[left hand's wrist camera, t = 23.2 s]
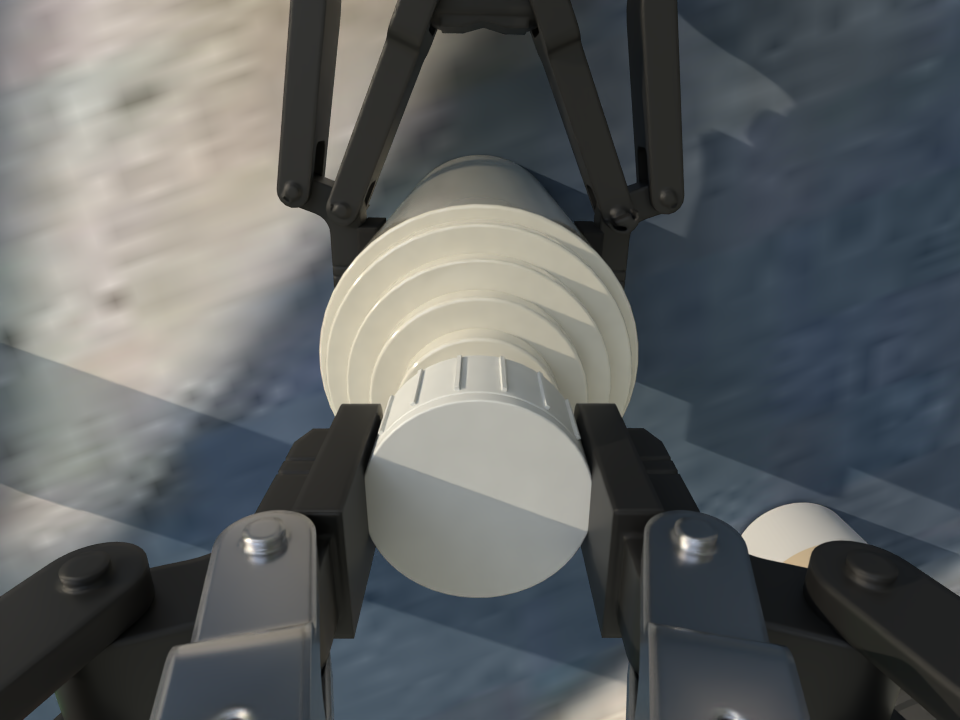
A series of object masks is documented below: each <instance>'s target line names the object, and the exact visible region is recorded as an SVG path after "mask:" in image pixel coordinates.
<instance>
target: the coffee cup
mask: <svg viewBox="0 0 960 720" xmlns="http://www.w3.org/2000/svg"><path fill="white" fill-rule="evenodd" d="M742 537H743V539H744V540H745V542H746V545H747V548H748V553H749V554H750V555H753V556H756V557H760V558H763V559H768V560H772V561H777V562H782V563H787V564H791V565H796V566H801V567H806V568H808V564H809V560H810V556H811V553H812V551H813V550H814V548H815V547H817V546H818V545H820V544H822V543H825V542H829V541H837V540H845V541H855V542H861V543H865V544H868V543H867V542H866V541H864V540H863V539H862V538H861V537H860V536H859V535H858V534H857V533H856V532H855V531H854V530H853V529H852V528H851V527H850V526H849V525H848V524H847V523H846V522H844V521H843V520H842V519H841V518H840V517H839V516H838V515H837V514H836V513H835V512H833V511H832V510H830V509H828V508H827V507H824V506H821V505H818V504H813V503H793V504H787V505H783V506H780V507H777V508H775V509H772V510H770V511H768V512H766V513H765V514H763V515H761V516H760V517H759V518H757V519H756V520H755V521H753V522H752V523H751V524H750V525H749V526H748V527H747V529H746V530H745V531H744V533H743V534H742ZM894 709H895V710H896V711H897V712H899V713H900V714H901V715H902V716H903V717H904V718H905V719H906V720H937V719H936V718H935V717H933V716H932V715H931V714H930V713H929V712H928V711H926V710H925V709H924V708H923V707H922V706H921V705H920V704H918V703H917V702H916V701H915V700H914V699H913V698H911V697H910V696H909V695H908V694H907V693H906V692H905V691H903V690H902V689H900V692H899V695H898V698H897V701H896V704H895V706H894Z"/></svg>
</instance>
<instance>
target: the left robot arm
mask: <svg viewBox="0 0 960 720" xmlns="http://www.w3.org/2000/svg"><path fill="white" fill-rule="evenodd" d="M574 417H575V421H576V424H577V427H578V430H579V434H580V437H581V442H582V446H583V449H584V452H585V456H586V459H587V462H588V466H589V469H590V472H591V476H592V484H591V497H590V510H589V523H588V533H587V535H586V537H585V539H584V541H583V542H582V544H581V549H582V553H583V557H584V562H585V566H586V571H587V575H588V579H589V584H590V588H591V592H592V597H593V601H594V605H595V610H596V614H597V619H598V623H599V627H600V632H601V636H602V638H622V639H623V643H624V647H625V650H626V654H627V657H628V660H629V665H628V674H627V702H626V720H906V719H905V718H904V717H903V716H902V715H901V714H900V713H899V712H897V711H896V710H895V709H894V706H895V704H896V701H897V698H898V695H899V692H900V689H902V690H903V691H905V692H906V693H907V694H908V695H909V696H910V697H911V698H913V699H914V700H915V701H916V702H917V703H918V704H920V705H921V706H922V707H923V708H924V709H925V710H926V711H928V712H929V713H930V714H931V715H932V716H933V717H935V718H936V719H937V720H960V597H959V596H958V595H956V594H955V593H953V592H952V591H950V590H949V589H947V588H946V587H944V586H943V585H942V584H940V583H939V582H937V581H936V580H934V579H933V578H931V577H930V576H928V575H927V574H925V573H924V572H922V571H921V570H919V569H918V568H916V567H915V566H913V565H912V564H910V563H909V562H907V561H905V560H904V559H902V558H901V557H899V556H897V555H895V554H893V553H891V552H889V551H886V550H884V549H881V548H879V547H876V546H872V545H869V544H865V543H861V542H855V541H845V540H837V541H829V542H825V543H822V544H820V545H818V546H817V547H815V548H814V550H813V551H812V553H811V556H810V560H809V564H808V568H806V567H801V566H796V565H791V564H787V563H782V562H777V561H772V560H768V559H763V558H760V557H756V556H753V555H750V554H749V553H748V548H747V545H746V542H745V540H744V539H743V537H742V536H741V535H740V534H739V533H738V532H737V531H736V530H735V529H734V528H733V527H732V526H730V525H729V524H727V523H725V522H724V521H722V520H720V519H718V518H715V517H713V516H710V515H707V514H704V513H700V511H699V509H698V507H697V505H696V503H695V502H694V500H693V498H692V496H691V494H690V492H689V491H688V489H687V487H686V485H685V483H684V481H683V480H682V478H681V476H680V474H678V470H677V469H676V467H675V465H674V463H673V461H671V459H670V458H671V457H670V456H669V454H668V452H667V450H666V448H665V446H664V445H663V443H662V441H660V440H659V439H657V438H656V437H655V436H653V435H652V434H651V433H649V432H648V431H647V430H645V429H644V428H626V425H625V423H624V421H623V419H622V417H621V414H620V412H619V410H618V408H617V406H616V404H615V403H576V405H575V410H574ZM382 418H383V411H382V406H381V404H341V405H340V407H339V410H338V412H337V414H336V416H335V418H334V420H333V422H332V424H331V427H330V429H312V430H311V431H309V432H308V433H306V434H305V435H304V436H302V437H301V438H300V439H298V440H297V441H295V442H294V444H293V446H292V448H291V449H290V451H289V453H288V455H287V457H286V461H284V462H283V464H282V466H281V467H280V469H279V471H278V472H279V473H278V474H277V475H276V476H275V478H274V480H273V482H272V484H271V485H270V487H269V489H268V491H267V493H266V494H265V496H264V498H263V500H262V502H261V503H260V505H259V507H258V509H257V511H256V512H255V514H253V515H250V516H247V517H245V518H242V519H240V520H238V521H236V522H235V523H233V524H231V525H230V526H228V527H227V528H226V529H225V530H224V531H223V532H222V533H221V534H220V535H219V536H218V537H217V539H216V540H215V543H214V545H213V548H212V553H210V554H207V555H204V556H201V557H198V558H194V559H190V560H186V561H181V562H177V563H172V564H167V565H162V566H158V567H153V568H150V567H149V563H148V559H147V556H146V553H145V552H144V551H143V549H141V548H140V547H138V546H136V545H134V544H130V543H125V542H107V543H100V544H95V545H91V546H87V547H84V548H81V549H78V550H75V551H73V552H70V553H68V554H66V555H64V556H62V557H60V558H58V559H56V560H55V561H53V562H52V563H50V564H48V565H47V566H45V567H44V568H42V569H41V570H39V571H38V572H36V573H35V574H33V575H32V576H30V577H29V578H27V579H26V580H24V581H23V582H21V583H20V584H18V585H17V586H15V587H14V588H13V589H11V590H10V591H8V592H7V593H5V594H4V595H2V596H1V597H0V720H23V719H24V718H25V717H27V716H28V715H29V714H30V713H31V712H32V711H33V710H35V709H36V708H37V707H38V706H39V705H40V704H42V703H43V702H44V701H45V700H46V699H47V698H49V697H50V696H51V695H52V694H53V693H54V692H55V695H56V698H57V701H58V704H59V707H60V710H61V713H60V714H59V715H58V716H57V717H56V718H55V719H54V720H334V701H333V674H332V665H331V657H330V649H331V646H332V642H333V639H345V638H354V636H355V632H356V628H357V623H358V619H359V615H360V611H361V607H362V602H363V598H364V594H365V590H366V585H367V581H368V577H369V573H370V569H371V564H372V560H373V556H374V552H375V547H376V546H375V544H374V542H373V541H372V539H371V537H370V535H369V529H368V516H367V503H366V490H365V471H366V468H367V465H368V462H369V458H370V455H371V452H372V449H373V446H374V443H375V440H376V437H377V434H378V431H379V427H380V424H381V421H382Z"/></svg>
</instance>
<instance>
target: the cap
mask: <svg viewBox="0 0 960 720" xmlns="http://www.w3.org/2000/svg"><path fill="white" fill-rule="evenodd" d="M591 484H592V476H591V472H590V469H589V466H588V462H587V459H586V456H585V452H584V449H583V446H582V442H581V437H580V434H579V430H578V427H577V424H576V421H575V417H574V414H573V411H572V407H571V404H570V401H569V400H568V399H566V400H565V399H564V397H563V396H562V394H561V393H560V392H559V391H558V390H557V389H556V388H555V386H554V385H553V384H551V383H550V382H549V381H548V380H547V379H546V378H545V377H543V373H541V372H540V371H539V372H538V373H537V372H536V371H534V370H533V369H531V368H529V367H527V366H525V365H523V364H520V363H517V362H514V361H512V360H509V359H505V357H504V356H500V358H499V357H495V356H483V355H476V356H463V357H462V355H458V356H457V358H452V359H448V360H445V361H441V362H439V363H436V364H434V365H432V366H430V367H427V368H426V369H424V370H422V369H420V370H418V372H417V374H416V375H415V376H413V377H412V378H411V379H410V380H408V381H407V382H406V383H405V384H404V385H403V386H402V387H401V388H400V389H399V390H398V391H397V393H396V394H395V395H394V396H393V395H391V396H390V397H389V400H388V403H387V407H386V410H385V413H384V416H383V418H382V421H381V424H380V427H379V431H378V434H377V437H376V440H375V443H374V446H373V449H372V452H371V455H370V458H369V462H368V465H367V468H366V471H365V490H366V503H367V516H368V529H369V535H370V537H371V539H372V541H373V542H374V544H375V546H376V547H377V549H378V550H379V552H380V553H381V554H382V555H383V556H384V558H385V559H386V560H387V561H388V562H389V563H390V564H391V565H392V566H393V567H394V568H395V569H397V570H398V571H399V572H401V573H402V574H403V575H405V576H406V577H408V578H409V579H411V580H413V581H414V582H416V583H418V584H420V585H422V586H425V587H427V588H429V589H432V590H434V591H438V592H441V593H445V594H449V595H455V596H460V597H472V598H482V597H495V596H503V595H507V594H511V593H515V592H519V591H521V590H524V589H527V588H530V587H532V586H534V585H536V584H538V583H540V582H542V581H544V580H545V579H547V578H548V577H550V576H552V575H553V574H555V573H556V572H557V571H558V570H559V569H561V568H562V567H563V566H564V565H565V564H566V563H567V562H568V561H569V560H570V559H571V558H572V557H573V556H574V554H575V553H576V552H577V550H578V549H579V547H580V546H581V544H582V542H583V541H584V539H585V537H586V535H587V533H588V523H589V510H590V497H591Z"/></svg>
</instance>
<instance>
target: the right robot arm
mask: <svg viewBox="0 0 960 720" xmlns="http://www.w3.org/2000/svg"><path fill="white" fill-rule="evenodd" d="M340 15H341V0H290V13H289V27H288V41H287V55H286V69H285V82H284V96H283V110H282V124H281V138H280V152H279V165H278V179H277V194H278V197H279V199H280V200H281V202H283V203H284V204H285V205H286V206H289V207H291V208H298V207H299V208H302V209H305V210H307V211H310V212H312V213H315V214H317V215H319V216H321V217H322V218H323V219H324V220H325V221H326V222H327V224H328V226H329V228H330V234H331V248H332V262H333V275H334V289H335V287H336V286H337V284H338V282H339V280H340V279H341V277H342V275H343V274H344V272H345V271H346V270H347V268H348V267H349V266H350V264H351V263H352V262H353V261H354V259H355V258H356V257H357V256H358V254H359V253H360V252H361V251H362V250H363V249H364V247H365V246H366V245H367V244H368V243H369V242H370V240H371V239H372V238H373V237H374V236H375V234H376V233H377V232H378V231H379V230H380V229H381V227H382V226H383V225H384V224H385V223H386V218H370V217H368V218H367V219H366V210H367V209H368V207H369V206H370V205H369V201H370V199H371V196H372V193H373V191H374V188H375V186H376V183H377V180H378V178H379V175H380V173H381V170H382V168H383V165H384V162H385V160H386V157H387V155H388V152H389V149H390V147H391V144H392V142H393V139H394V137H395V134H396V131H397V129H398V126H399V124H400V121H401V118H402V116H403V113H404V111H405V108H406V106H407V103H408V100H409V98H410V95H411V93H412V90H413V87H414V85H415V82H416V80H417V77H418V74H419V72H420V69H421V67H422V64H423V62H424V59H425V58H426V56H427V54H428V52H429V49H430V47H431V45H432V42H433V39H434V37H435V34H436V32H437V29H439V30H441V31H442V33H466V32H470V31H473V30H477V29H480V28H487V29H490V30H493V31H496V32H499V33H502V34H517V35H525V33H526V32H528V31H530V33H531V36H532V38H533V41H534V44H535V47H536V50H537V53H538V55H539V57H540V59H541V61H542V63H543V66H544V69H545V72H546V75H547V77H548V80H549V83H550V86H551V89H552V92H553V95H554V98H555V101H556V103H557V106H558V109H559V112H560V115H561V118H562V121H563V124H564V127H565V129H566V132H567V135H568V138H569V141H570V144H571V147H572V150H573V153H574V155H575V158H576V161H577V164H578V167H579V170H580V173H581V176H582V179H583V181H584V184H585V187H586V190H587V193H588V196H589V199H590V202H591V205H592V208H593V210H594V213H595V215H594V223H593V222H592V221H575V223H574V224H575V226H576V227H577V228H578V229H579V231H580V232H581V233H582V234H583V235H584V237H585V238H586V239H587V240H588V241H589V243H590V244H591V245H592V246H593V248H594V249H595V250H596V251H597V252H598V254H599V255H600V256H601V257H602V258H603V260H604V261H605V262H606V263H607V265H608V266H609V267H610V268H611V270H612V271H613V273H614V274H615V276H616V278H617V279H618V281H619V282H620V284H621V286H622V288H623V290H624V285H625V275H626V266H627V256H628V247H629V238H630V234H631V231H633V230H634V229H635V228H636V226H637V225H638V223H639V222H640V221H642V220H645V219H647V218H650V217H653V216H656V215H659V214H671V213H674V212H676V211H677V210H678V209H679V208H680V207H681V205H682V203H683V200H684V177H683V149H682V121H681V94H680V66H679V39H678V11H677V0H627V33H628V49H629V65H630V81H631V97H632V113H633V128H634V144H635V160H636V176H637V183H635V184H632V185H629V186H627V184H626V181H625V178H624V175H623V172H622V169H621V165H620V162H619V159H618V156H617V153H616V150H615V147H614V144H613V141H612V137H611V134H610V131H609V128H608V125H607V122H606V119H605V116H604V113H603V109H602V106H601V103H600V100H599V97H598V94H597V91H596V88H595V85H594V82H593V78H592V75H591V72H590V69H589V66H588V63H587V60H586V57H585V54H584V50H583V47H582V44H581V37H580V31H579V27H578V23H577V20H576V17H575V14H574V11H573V8H572V5H571V2H570V0H398V1H397V4H396V7H395V10H394V12H393V15H392V18H391V21H390V24H389V27H388V32H387V38H386V42H385V44H384V47H383V50H382V53H381V56H380V58H379V61H378V64H377V67H376V69H375V72H374V75H373V78H372V80H371V83H370V86H369V89H368V91H367V94H366V97H365V100H364V102H363V105H362V108H361V111H360V113H359V116H358V119H357V122H356V124H355V127H354V130H353V133H352V135H351V138H350V141H349V144H348V146H347V149H346V152H345V155H344V158H343V160H342V163H341V166H340V169H339V171H338V174H337V177H336V180H335V181H333V180H331V179H328V178H325V167H326V157H327V147H328V137H329V126H330V116H331V106H332V96H333V86H334V76H335V66H336V56H337V46H338V36H339V26H340Z"/></svg>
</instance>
